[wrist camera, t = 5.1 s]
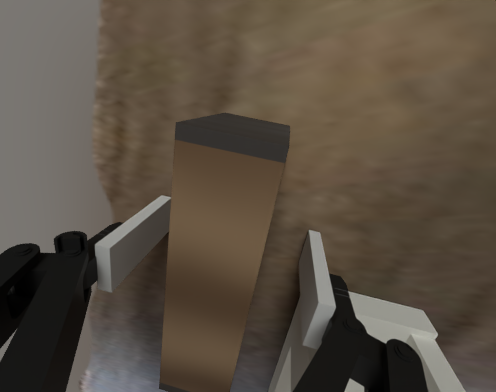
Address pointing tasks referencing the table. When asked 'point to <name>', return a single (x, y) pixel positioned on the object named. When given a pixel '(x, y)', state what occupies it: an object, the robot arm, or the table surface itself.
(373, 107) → the table surface
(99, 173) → the table surface
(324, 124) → the table surface
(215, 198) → the rail
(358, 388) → the post stand
